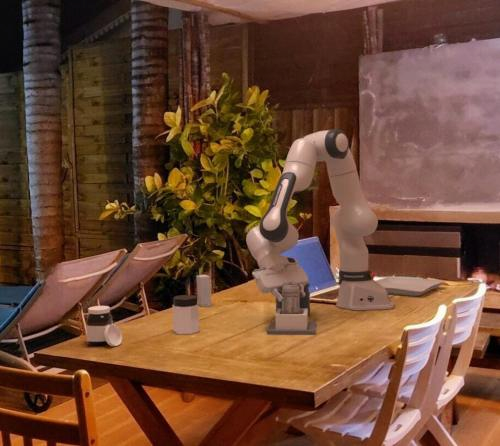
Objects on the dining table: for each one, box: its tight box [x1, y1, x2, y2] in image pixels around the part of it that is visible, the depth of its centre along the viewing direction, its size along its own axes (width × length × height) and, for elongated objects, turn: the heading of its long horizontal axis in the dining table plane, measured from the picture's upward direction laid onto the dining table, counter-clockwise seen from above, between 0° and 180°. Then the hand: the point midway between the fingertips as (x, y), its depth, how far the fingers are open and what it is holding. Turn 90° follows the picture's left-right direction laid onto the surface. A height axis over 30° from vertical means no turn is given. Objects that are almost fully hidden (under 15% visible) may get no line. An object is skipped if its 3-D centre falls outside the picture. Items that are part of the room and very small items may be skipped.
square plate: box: [375, 276, 445, 297], centre depth 310 cm, size 27×27×4 cm
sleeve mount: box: [266, 308, 317, 336], centre depth 243 cm, size 16×14×6 cm
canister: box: [275, 282, 311, 318], centre depth 263 cm, size 13×13×18 cm
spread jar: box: [85, 305, 123, 347], centre depth 229 cm, size 12×11×12 cm
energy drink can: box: [282, 281, 300, 314], centre depth 243 cm, size 6×6×15 cm
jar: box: [172, 294, 200, 335], centre depth 243 cm, size 9×8×12 cm
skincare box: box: [195, 274, 212, 308], centre depth 287 cm, size 6×4×12 cm
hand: (292, 298), depth 242 cm, fingers open, 8 cm apart
